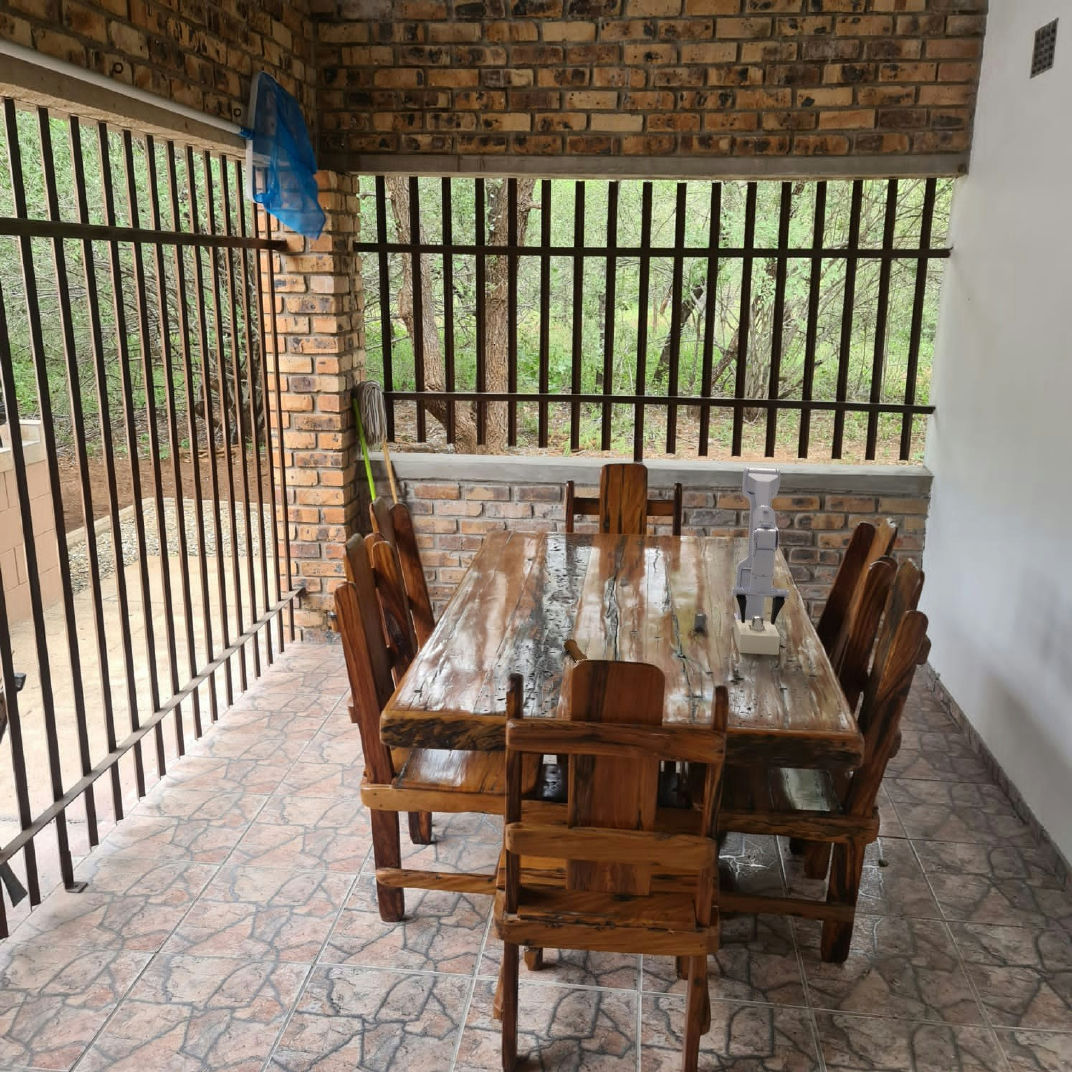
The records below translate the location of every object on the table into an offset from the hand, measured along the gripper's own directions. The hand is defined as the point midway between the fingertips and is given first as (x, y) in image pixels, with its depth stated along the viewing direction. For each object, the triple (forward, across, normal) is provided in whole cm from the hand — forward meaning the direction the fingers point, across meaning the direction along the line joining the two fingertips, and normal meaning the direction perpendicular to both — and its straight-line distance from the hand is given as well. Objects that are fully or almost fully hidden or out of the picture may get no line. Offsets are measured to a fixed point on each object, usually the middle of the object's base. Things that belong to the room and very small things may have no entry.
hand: (757, 622), depth 253 cm
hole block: (+6, 0, 0) cm, 6 cm away
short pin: (+6, -14, +10) cm, 18 cm away
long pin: (+6, 0, 0) cm, 6 cm away
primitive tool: (+7, -45, -19) cm, 50 cm away
